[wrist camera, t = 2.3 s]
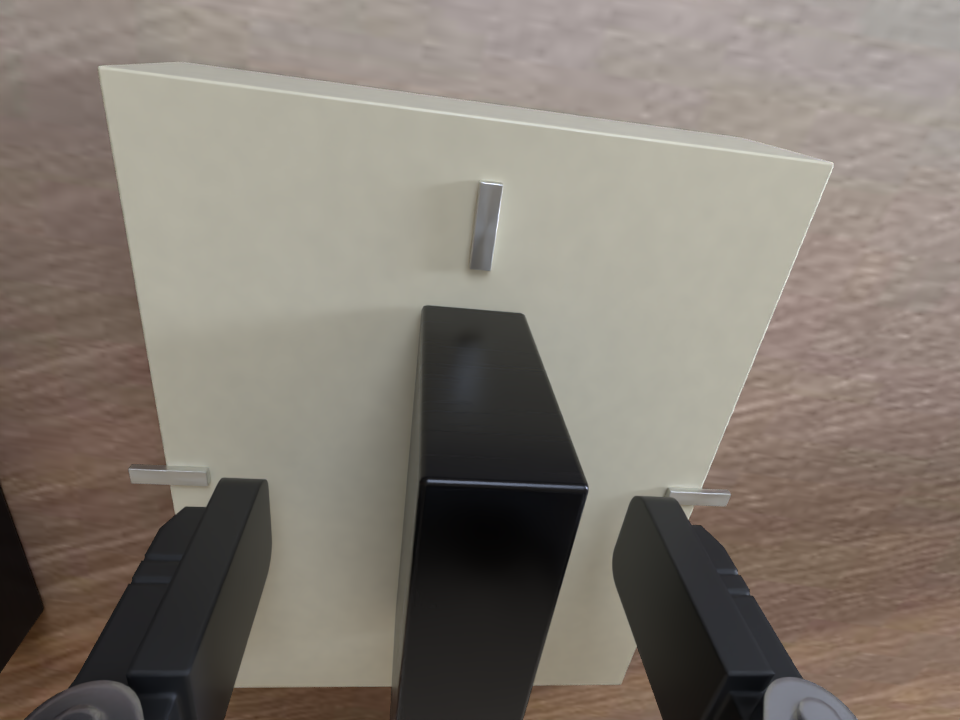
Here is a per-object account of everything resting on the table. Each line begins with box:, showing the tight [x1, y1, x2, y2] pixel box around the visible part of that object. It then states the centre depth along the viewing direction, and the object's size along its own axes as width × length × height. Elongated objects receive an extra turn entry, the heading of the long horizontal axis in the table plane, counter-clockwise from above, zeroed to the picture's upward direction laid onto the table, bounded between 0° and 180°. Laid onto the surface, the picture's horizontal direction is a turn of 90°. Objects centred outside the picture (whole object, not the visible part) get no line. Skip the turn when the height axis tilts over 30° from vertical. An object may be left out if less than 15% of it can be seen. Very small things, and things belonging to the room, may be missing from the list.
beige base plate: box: [98, 62, 834, 688], centre depth 13 cm, size 14×12×3 cm
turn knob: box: [390, 305, 589, 720], centre depth 9 cm, size 8×2×5 cm, turn 173°
